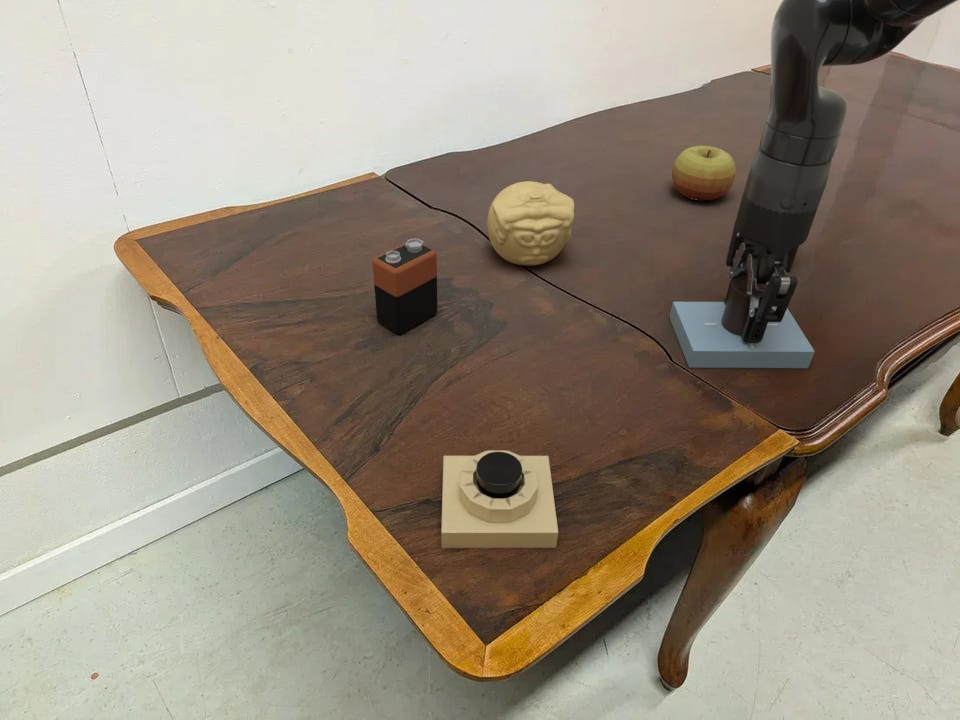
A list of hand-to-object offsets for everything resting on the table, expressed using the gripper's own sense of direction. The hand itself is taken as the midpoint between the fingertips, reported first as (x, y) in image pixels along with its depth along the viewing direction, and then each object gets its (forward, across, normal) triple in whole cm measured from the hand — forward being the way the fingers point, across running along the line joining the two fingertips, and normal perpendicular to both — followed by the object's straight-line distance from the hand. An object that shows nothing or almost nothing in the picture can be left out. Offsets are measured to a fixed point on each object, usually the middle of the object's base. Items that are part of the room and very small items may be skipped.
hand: (741, 323), depth 84 cm
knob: (0, 0, 0) cm, 0 cm away
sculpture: (+3, +20, +24) cm, 32 cm away
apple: (+3, +40, -6) cm, 41 cm away
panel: (+3, 0, 0) cm, 3 cm away
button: (-1, -26, +30) cm, 39 cm away
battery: (+3, +4, +40) cm, 40 cm away
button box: (+3, -26, +30) cm, 40 cm away
